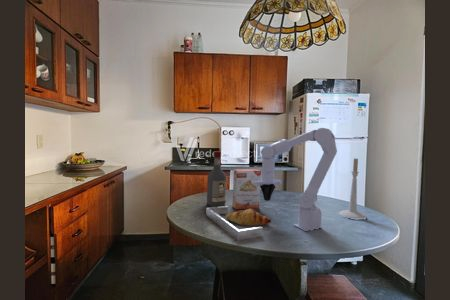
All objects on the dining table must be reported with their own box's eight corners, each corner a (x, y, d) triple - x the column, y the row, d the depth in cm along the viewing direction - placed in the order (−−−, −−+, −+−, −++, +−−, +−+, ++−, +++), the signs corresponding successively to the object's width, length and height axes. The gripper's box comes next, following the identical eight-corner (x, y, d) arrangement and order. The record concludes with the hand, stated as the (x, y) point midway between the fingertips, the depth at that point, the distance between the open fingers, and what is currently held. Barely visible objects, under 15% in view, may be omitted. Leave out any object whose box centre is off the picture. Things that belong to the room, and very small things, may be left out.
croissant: (223, 229, 121) (221, 216, 117) (229, 213, 129) (227, 201, 125) (270, 234, 115) (269, 221, 111) (272, 217, 123) (272, 204, 119)
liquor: (204, 203, 150) (206, 151, 148) (218, 201, 155) (219, 150, 153) (214, 207, 142) (215, 152, 140) (227, 205, 148) (229, 152, 146)
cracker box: (235, 209, 140) (236, 170, 138) (232, 206, 145) (233, 169, 144) (259, 208, 143) (261, 170, 142) (255, 205, 149) (257, 168, 148)
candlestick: (352, 211, 142) (356, 156, 140) (372, 219, 130) (376, 159, 128) (333, 213, 139) (336, 156, 137) (351, 221, 126) (355, 159, 124)
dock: (226, 212, 134) (226, 205, 134) (262, 236, 105) (262, 227, 104) (206, 214, 130) (206, 207, 129) (238, 240, 100) (238, 231, 100)
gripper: (275, 169, 130) (274, 196, 131) (250, 170, 124) (249, 199, 125) (284, 171, 124) (283, 200, 125) (258, 173, 118) (257, 203, 119)
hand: (267, 200), depth 124 cm, fingers closed
